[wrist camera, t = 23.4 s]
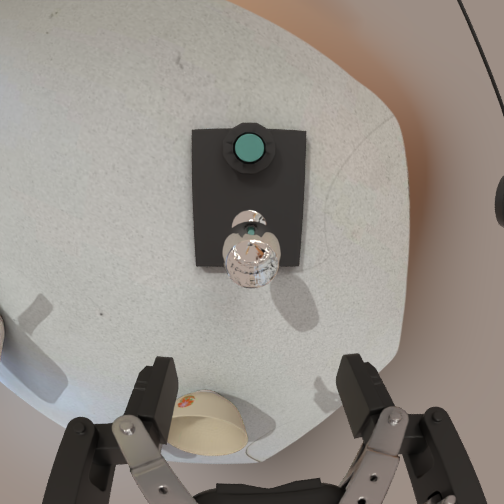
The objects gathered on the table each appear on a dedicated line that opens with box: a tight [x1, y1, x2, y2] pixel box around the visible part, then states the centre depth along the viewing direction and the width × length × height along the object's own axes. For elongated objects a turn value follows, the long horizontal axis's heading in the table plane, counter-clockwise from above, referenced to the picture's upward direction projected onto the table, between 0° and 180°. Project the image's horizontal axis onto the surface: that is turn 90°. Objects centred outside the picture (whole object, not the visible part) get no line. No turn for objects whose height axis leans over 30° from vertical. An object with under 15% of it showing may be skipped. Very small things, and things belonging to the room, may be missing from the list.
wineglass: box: [222, 210, 281, 288], centre depth 29 cm, size 6×6×12 cm
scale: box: [192, 123, 306, 266], centre depth 33 cm, size 19×14×3 cm
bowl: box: [167, 390, 248, 456], centre depth 44 cm, size 16×16×10 cm
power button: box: [235, 134, 264, 162], centre depth 29 cm, size 3×3×2 cm
